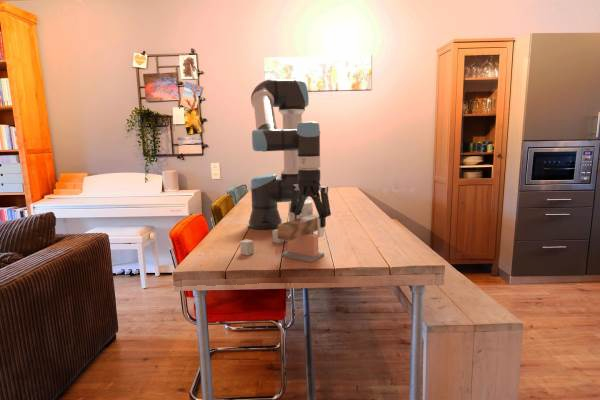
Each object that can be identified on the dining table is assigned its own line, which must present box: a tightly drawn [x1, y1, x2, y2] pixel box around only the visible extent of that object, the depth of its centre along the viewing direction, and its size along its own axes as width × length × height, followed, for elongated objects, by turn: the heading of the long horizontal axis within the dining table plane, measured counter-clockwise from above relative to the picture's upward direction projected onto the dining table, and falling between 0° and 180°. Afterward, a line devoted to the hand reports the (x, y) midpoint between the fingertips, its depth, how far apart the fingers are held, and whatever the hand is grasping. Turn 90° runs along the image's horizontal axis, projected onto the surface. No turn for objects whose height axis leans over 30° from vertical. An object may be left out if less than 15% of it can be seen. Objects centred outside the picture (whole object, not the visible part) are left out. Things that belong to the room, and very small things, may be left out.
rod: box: [277, 213, 319, 242], centre depth 120 cm, size 20×4×4 cm, turn 143°
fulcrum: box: [281, 233, 325, 264], centre depth 121 cm, size 12×8×8 cm, turn 53°
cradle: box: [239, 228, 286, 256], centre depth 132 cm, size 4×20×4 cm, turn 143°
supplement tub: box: [288, 199, 315, 234], centre depth 143 cm, size 10×10×15 cm
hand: (310, 234), depth 124 cm, fingers open, 8 cm apart
